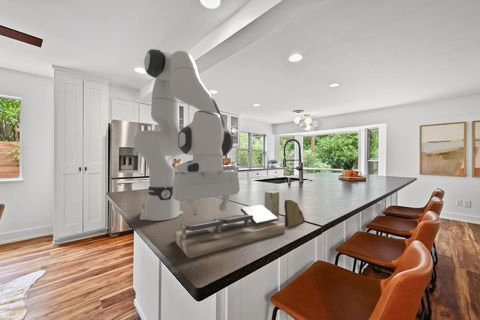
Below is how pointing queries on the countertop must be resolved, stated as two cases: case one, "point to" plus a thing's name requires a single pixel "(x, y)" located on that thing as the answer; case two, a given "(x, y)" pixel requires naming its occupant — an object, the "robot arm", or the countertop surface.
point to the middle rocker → (235, 218)
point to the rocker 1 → (202, 225)
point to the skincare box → (272, 202)
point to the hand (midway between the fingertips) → (208, 212)
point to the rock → (292, 213)
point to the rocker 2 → (259, 214)
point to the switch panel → (224, 236)
